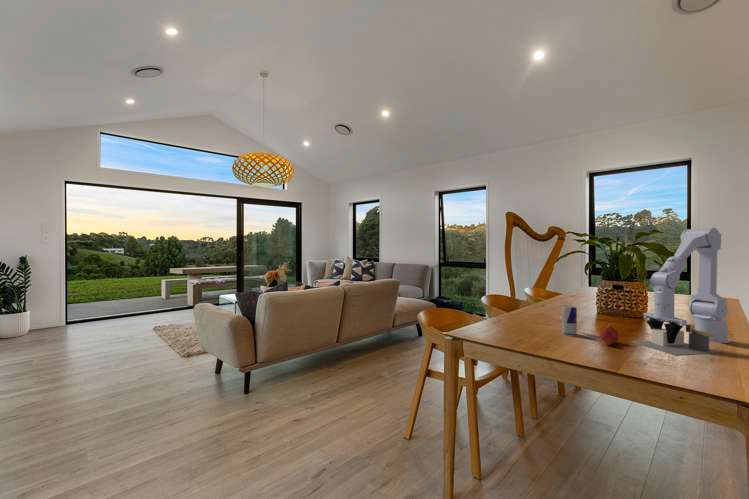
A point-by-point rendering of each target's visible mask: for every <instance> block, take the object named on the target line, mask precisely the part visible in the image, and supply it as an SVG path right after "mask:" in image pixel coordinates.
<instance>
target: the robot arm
mask: <svg viewBox="0 0 749 499" xmlns="http://www.w3.org/2000/svg"><path fill="white" fill-rule="evenodd" d="M680 242H681V243H680V245H679V246H678V248H677V250H676V252H675V253H674V255H673V256H669V257H668V258H666V261H665V262H664V264H663V265H662V266H661V267H660V269H659V270H658V271H656V272H653V274H652V275H651V277H650V279H649V282H650V284H651V286H652V290H653V292H654V294H653V295H654V299H653V304H654V307H653V308H654V309H653V310H654V312H653V313H651V312H643V319H647V320H646V323H647V325H648V326H649V327H650V330H651V329H663V325H664V329H666V332H667V341H668V343H670V344H671V343H674V342H675V339H676V336H677V334H678V332H679V331H680V330H681V329H683V327H686V326H687V324H688V321H687V319H683V318H679V317H676V316H675V289H676V288H677V287H678V286H679V284H680V279H681V276H680V275H681V273H682V272H683V271H684V269H685V268H686V266H687V263H686V261H687V259H688V257H690V255H691V254H692V253H693V252H694V251H696V252H698V282H697V283H698V285H697V286H698V288H697V290H698V291H697V293H695V294H694V295H691V296H690V302H689V304H688V311H689V312H690V314H691V315H692V317H693V318H694V325H695V330H699V331H703V332H708V333H713V334H715V337H709V342H714V343H718V344H729V343H731V341H729V338H728V336H729V335H728V334H729V332H728V330H729V329H728V328H729V327H728V323H727V322H726V320H724V319H725V318H726V317H727V315H728V312H729V311H728V307H727V301H726V299H725V298H723V297H722V296H720V295H719V294H718V293H717V289H718V288H717V286H718V285H717V284H718V283H717V282H718V278H717V277H718V251H719V250H721V246H722V234H721V232H720V231H719V230H718V229H717V228H716V227H711V228H693V229H690V228H686V229H684V230H683V231H682V233H681V235H680Z"/></svg>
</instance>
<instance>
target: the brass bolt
mask: <svg viewBox="0 0 749 499" xmlns="http://www.w3.org/2000/svg"><path fill="white" fill-rule="evenodd" d="M685 332H687V333H695V334H700V335H704V336H708V337H715V334H713V333H708V332H703V331H699V330H695V324H691V323H687V326H685Z"/></svg>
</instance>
